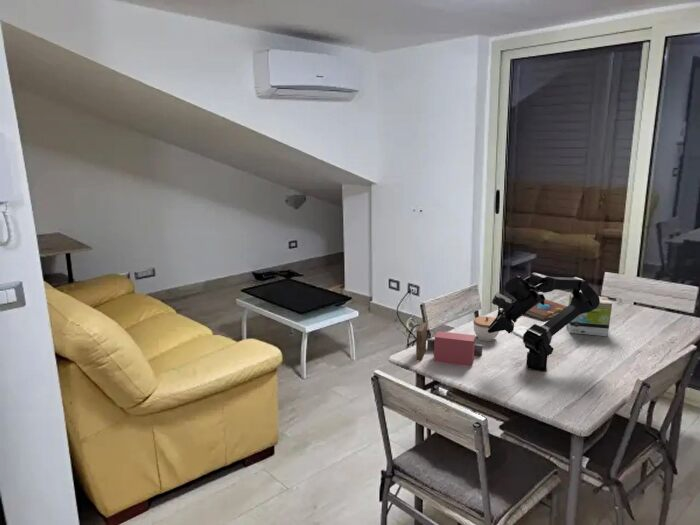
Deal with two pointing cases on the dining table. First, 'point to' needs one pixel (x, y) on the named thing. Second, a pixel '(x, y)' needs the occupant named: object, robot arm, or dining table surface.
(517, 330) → the external hard drive
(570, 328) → the tea box
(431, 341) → the bookend
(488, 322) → the lidded jar
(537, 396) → the dining table surface
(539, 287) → the robot arm
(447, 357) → the pink rectangular block
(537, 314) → the book
